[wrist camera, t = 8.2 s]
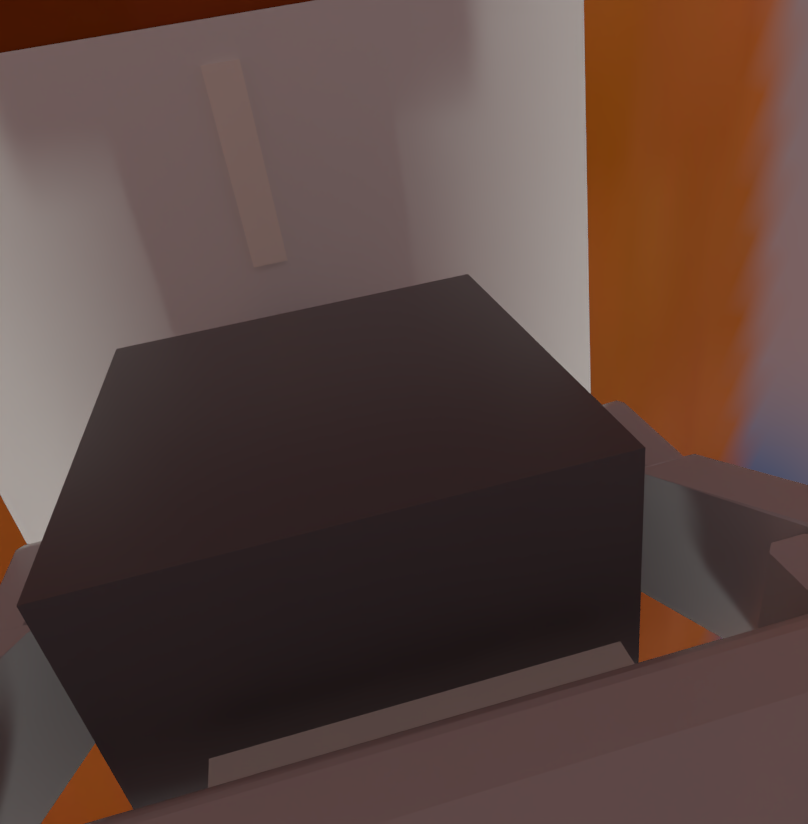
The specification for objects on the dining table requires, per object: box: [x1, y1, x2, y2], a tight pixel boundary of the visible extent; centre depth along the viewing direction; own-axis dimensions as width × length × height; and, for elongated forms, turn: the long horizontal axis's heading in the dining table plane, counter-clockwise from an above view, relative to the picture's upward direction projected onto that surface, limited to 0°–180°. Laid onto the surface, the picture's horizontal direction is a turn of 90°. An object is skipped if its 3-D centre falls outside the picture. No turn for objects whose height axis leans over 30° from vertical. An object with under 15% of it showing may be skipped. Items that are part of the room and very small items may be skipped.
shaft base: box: [0, 0, 591, 544], centre depth 12 cm, size 12×12×5 cm
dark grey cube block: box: [17, 274, 646, 809], centre depth 9 cm, size 5×5×5 cm
